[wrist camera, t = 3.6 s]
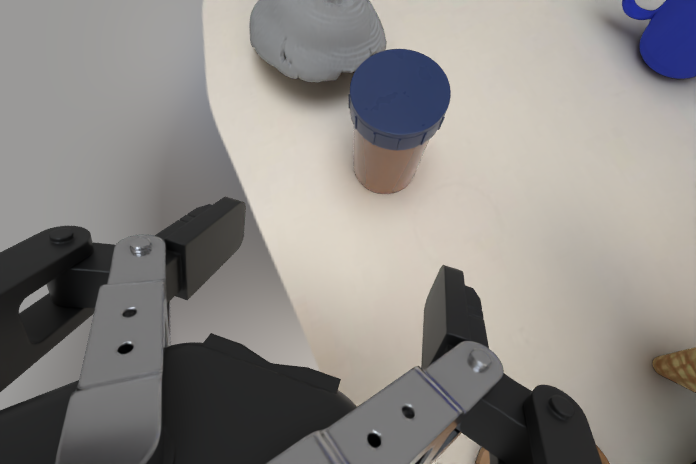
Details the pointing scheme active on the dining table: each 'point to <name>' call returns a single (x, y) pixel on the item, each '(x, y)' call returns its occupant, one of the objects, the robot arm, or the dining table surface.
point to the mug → (668, 37)
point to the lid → (398, 99)
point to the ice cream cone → (678, 367)
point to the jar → (384, 165)
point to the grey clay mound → (316, 36)
